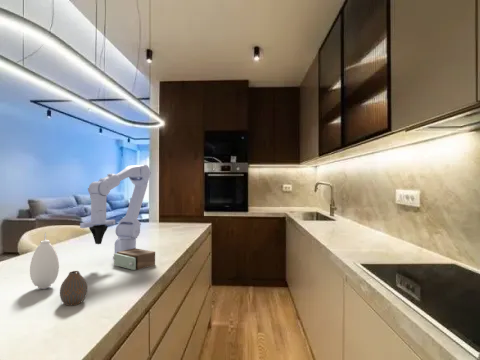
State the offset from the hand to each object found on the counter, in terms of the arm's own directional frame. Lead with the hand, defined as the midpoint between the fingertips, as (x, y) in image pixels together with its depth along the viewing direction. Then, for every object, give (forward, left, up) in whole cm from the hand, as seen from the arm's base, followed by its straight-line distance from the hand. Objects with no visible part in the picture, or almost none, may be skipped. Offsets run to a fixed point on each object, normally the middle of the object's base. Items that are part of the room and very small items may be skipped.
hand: (98, 243), depth 125 cm
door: (+10, +4, -9) cm, 14 cm away
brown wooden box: (+11, +10, -9) cm, 18 cm away
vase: (+29, -27, -10) cm, 41 cm away
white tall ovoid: (+9, -25, -10) cm, 28 cm away
